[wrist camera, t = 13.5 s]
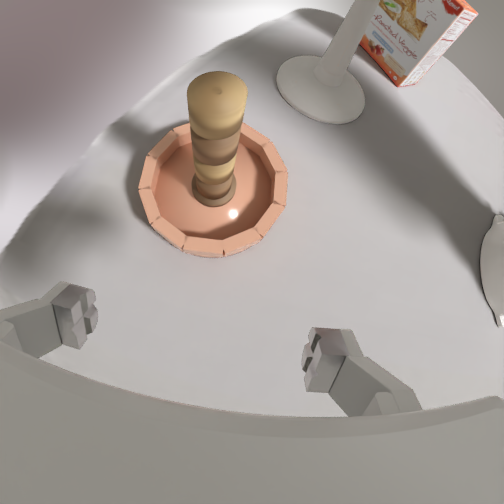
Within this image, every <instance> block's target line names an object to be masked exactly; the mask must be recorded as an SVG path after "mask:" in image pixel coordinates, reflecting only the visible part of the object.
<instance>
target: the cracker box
mask: <svg viewBox="0 0 504 504" xmlns="http://www.w3.org/2000/svg"><path fill="white" fill-rule="evenodd" d="M477 15H478V13H477V12H476V11H475V10H474V9H473V8H472V7H471V6H470V5H469V4H468V3H467V2H465V1H464V0H380V2H379V4H378V6H377V8H376V10H375V12H374V14H373V17H372V19H371V21H370V23H369V25H368V27H367V29H366V31H365V33H364V35H363V37H362V39H361V41H360V43H359V44H360V45H361V46H362V47H363V48H364V49H365V50H366V51H367V52H368V54H369V55H370V56H371V57H372V58H373V59H374V60H375V61H376V62H377V63H378V65H379V66H380V67H381V68H382V69H383V70H384V71H385V73H386V74H387V75H388V76H389V77H390V79H391V80H392V81H393V82H394V84H395V85H396V86H397V87H401V86H408V85H414V84H416V83H417V82H418V81H419V80H420V79H421V78H422V77H423V75H424V74H425V73H426V72H427V71H428V70H429V69H430V68H431V67H432V66H433V65H434V63H435V62H436V61H437V60H438V59H439V58H440V57H441V56H442V55H443V54H444V52H445V51H446V50H447V49H448V48H449V47H450V46H451V45H452V44H453V42H454V41H455V40H456V39H457V38H458V37H459V36H460V35H461V33H462V32H463V31H464V30H465V29H466V27H468V25H469V24H470V23H471V22H472V21H473V20H474V18H475V17H476V16H477Z"/></svg>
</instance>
